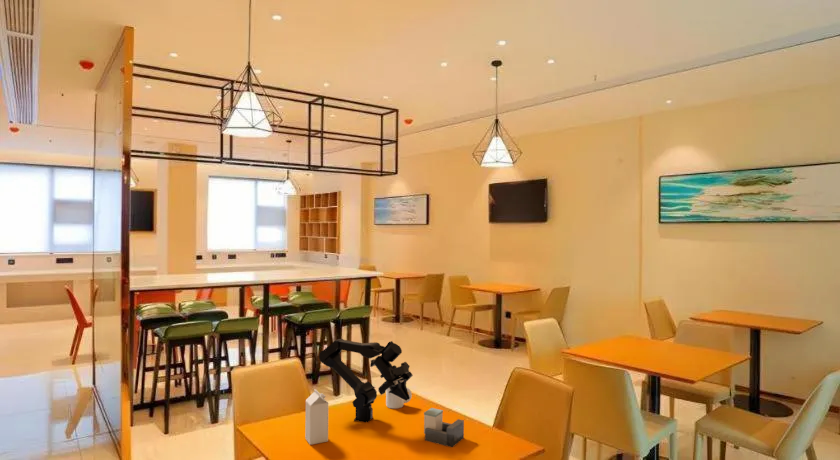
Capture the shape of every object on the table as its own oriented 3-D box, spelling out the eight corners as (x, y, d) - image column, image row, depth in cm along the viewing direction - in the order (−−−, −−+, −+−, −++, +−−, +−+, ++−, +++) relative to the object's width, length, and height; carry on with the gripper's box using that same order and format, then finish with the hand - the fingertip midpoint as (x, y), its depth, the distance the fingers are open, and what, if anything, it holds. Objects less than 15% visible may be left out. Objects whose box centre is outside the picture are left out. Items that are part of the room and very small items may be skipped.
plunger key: (423, 433, 197) (423, 412, 197) (431, 428, 203) (431, 407, 203) (435, 436, 195) (435, 415, 195) (442, 430, 200) (442, 410, 200)
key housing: (424, 440, 195) (425, 422, 195) (436, 431, 204) (437, 414, 204) (452, 447, 189) (452, 428, 189) (463, 438, 198) (463, 420, 198)
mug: (412, 403, 237) (412, 381, 237) (410, 409, 228) (411, 387, 228) (387, 402, 238) (387, 380, 238) (384, 408, 229) (385, 386, 229)
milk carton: (309, 445, 189) (310, 395, 190) (305, 438, 196) (305, 389, 196) (328, 441, 193) (328, 392, 193) (322, 435, 199) (323, 387, 199)
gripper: (384, 361, 199) (408, 394, 194) (409, 352, 216) (431, 382, 210) (368, 378, 203) (390, 410, 198) (393, 367, 220) (414, 397, 214)
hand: (407, 399), depth 205 cm, fingers closed
